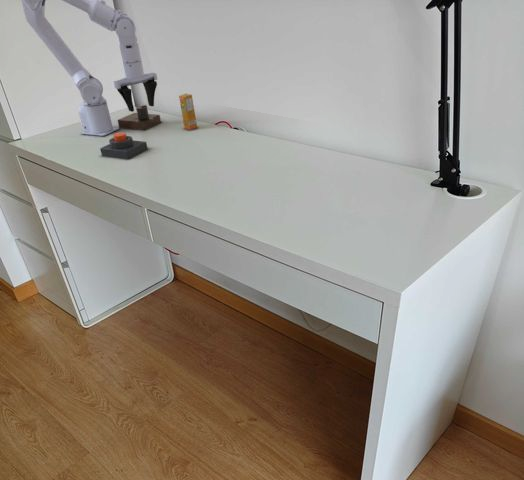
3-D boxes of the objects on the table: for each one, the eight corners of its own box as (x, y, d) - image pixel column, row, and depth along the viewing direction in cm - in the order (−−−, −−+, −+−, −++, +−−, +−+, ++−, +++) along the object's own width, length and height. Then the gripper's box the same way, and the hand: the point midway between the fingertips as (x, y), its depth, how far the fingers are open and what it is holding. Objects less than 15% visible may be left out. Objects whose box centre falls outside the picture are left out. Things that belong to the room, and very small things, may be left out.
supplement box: (183, 128, 162) (177, 95, 156) (191, 126, 164) (186, 92, 157) (189, 130, 160) (184, 96, 154) (197, 128, 162) (193, 94, 155)
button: (112, 142, 144) (110, 135, 143) (120, 138, 146) (118, 132, 145) (121, 143, 142) (120, 136, 141) (129, 139, 145) (128, 132, 144)
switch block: (101, 156, 146) (98, 141, 143) (121, 146, 152) (118, 132, 149) (128, 159, 142) (125, 144, 139) (147, 149, 148) (144, 135, 145)
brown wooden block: (118, 128, 168) (116, 119, 166) (135, 120, 174) (134, 112, 172) (147, 130, 163) (145, 122, 161) (164, 122, 169) (162, 114, 168)
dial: (141, 120, 164) (139, 108, 161) (136, 118, 166) (133, 106, 163) (151, 118, 165) (148, 105, 163) (145, 116, 167) (143, 104, 165)
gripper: (145, 56, 161) (153, 101, 169) (105, 64, 154) (116, 111, 162) (157, 58, 157) (165, 104, 165) (116, 66, 150) (127, 114, 158)
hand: (141, 108), depth 164 cm, fingers open, 7 cm apart
